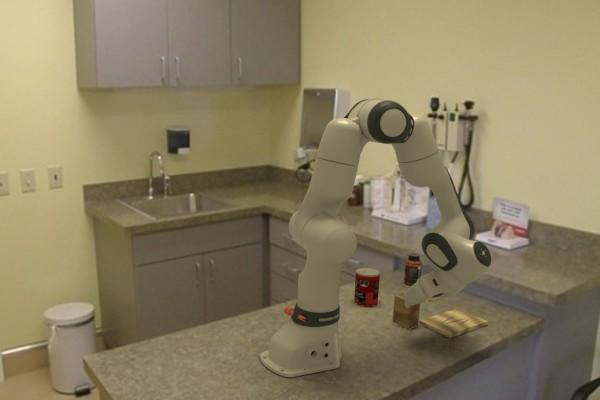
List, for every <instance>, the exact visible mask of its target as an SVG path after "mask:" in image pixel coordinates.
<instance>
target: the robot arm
mask: <svg viewBox="0 0 600 400" xmlns="http://www.w3.org/2000/svg"><path fill="white" fill-rule="evenodd" d="M369 142H371V143H375V144H376V143H378V144H384V145H391V146H392V148H393V150H394V153H395V156H396V161H397V164H398V168H399V171H400V173H401V175H402V177H403V179H404V181H405V182H407V183H408V184H409V185H411V186H414V187H416V188H429V190H431V192H432V193H433V196H434V198H435V199H434V200H435V201H436V204H437V207H438V209H439V212H440V218H439V220H438V222H437V223H436V224H435V225H434V227H432V228H431V229H430V230H428V232H427V233H426V234H425V235H424V236H423V237H422V240H421V249H422V252H423V254H424V256H425V257H426V258H427V259H428V260H429V261H430V262H431V263H432V264H434V265H435V266H436V267H435V268H434V269H433V270H432V271H429V272H427V273H425V274H423V275H421V277H420V278H419V279H418V280H419V281H418V282H417V283H415V284H414V285H413V286H411V285H410V287H409V288H407V290H406V291H405V292H403V293H404V294H403V298H404V300H405V306H406V308H409V307H412V306H413V305H415V304H419V303H420V304H423V303H425V302H433V301H434V300H437V299H439V298H452V297H455V295H457V294H458V293H459V292H460V291H462V290H464V289H465V288H466V286H468V284H470V283H473V282H475V281H476V280H478V279H479V278H480V277H481V276H482V275H484V274H485V272H487V271H488V269H489V268H490V267H491V263H492V255H491V252H490V250H489V248H488V247H487V245H486V244H485V243H483V242H482V241H479V240H473V238H474V236H475V226H474V224H473V223H474V222H473V221H472V219H471V218H470V217H469V215H468V214H467V213H466V210H464V208H463V205H462V202H461V199H460V196H459V194H458V191H457V189H456V186H455V183H454V181H453V178H452V176H451V174H450V172H449V170H448V169H447V167H446V166H445V165H444V162H443V159H442V156H441V153H440V150H439V145H438V144H437V140H436V138H435V135H434V132H433V130H432V128H431V125H430V124H429V121H428V120H427V118H426V117H424V116H423V115H422V114H418V113H409V112H408V110H407V109H406V108H405V107H404V106H403V105H401V104H400V103H398V102H396V101H393V100H389V99H388V100H386V99H383V98H367V99H362V100H360V101H358V102H357V103H355V104H354V105H353V106H352V107H351V109H350V110H349V111H348V112H347V113H346V115H345V116H343V117H338V118H334V119H332V120H330V121H329V122H328V123H326V126H325V129H324V130H323V133H322V136H321V139H320V141H319V144H318V148H317V152H316V155H315V156H316V157H315V161H314V164H313V170H312V174H311V178H310V182H309V185H308V189H307V191H306V194H305V196H304V198H303V201H302V202H301V204H300V207H299V208H298V209H297V210H296V211H295V212H294V213H293V214H292V215H291V217H290V219H289V222H288V231H289V234H290V235H291V237H292V238H293V240H294V242H295V243H296V244H297V245H298V246H300V247H302V249H304V250H305V251H306V261H305V265H304V267H303V270H301V272H299V274H298V276H297V295H296V296H297V297H296V298H297V299H296V303H295V305H294V308H292V307H290V306H285V307H284V309H283V313H285V314H286V315H287V316H289V317H290V318H289V320H287V322H285V323H284V324H283V325H282V326H281V327H280V328H279V329H278V330H277V331H276V332H275V333H273V335H272V336H271V337H270V341H269V346H268V349H266V350H265V351H262V352H260V354H259V361H260V362H261V364H262V365H264V367H266V368H267V369H268V370H270V371H271V372H273V373H275V374H276V375H279V376H281V377H285V378H296V377H300V376H305V375H311V374H314V373H315V374H316V373H318V372H319V373H320V372H324V371H329V370H334V369H338V368H340V366H341V359H342V357H343V353H342V349H341V344H340V336H339V335H340V334H339V321H340V318H341V317H340V315H341V305H340V304H339V302H340V289H341V287H340V286H341V279H342V275H343V271H344V268H345V265H346V263H347V262H349V260H351V259H352V257H353V256H354V255H355V253H356V250H357V246H358V241H357V237H356V235H355V232H353V230H352V229H351V228H350V226H348V224H347V223H346V222H343V221H342V220H341V219H338V214H339V213H340V209H341V208H342V206H343V204H344V203H345V202H346V201H348V199H350V198H351V196H352V194H353V191H354V187H355V182H356V178H357V175H358V173H357V172H358V169H359V166H360V165H359V164H360V160H361V154H362V152H363V150H364V148H365V147H366V145H367V144H368V143H369Z"/></svg>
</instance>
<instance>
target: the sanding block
mask: <svg viewBox="0 0 600 400" xmlns="http://www.w3.org/2000/svg"><path fill="white" fill-rule="evenodd" d="M404 293H405V292H403V293H399V294H396V295H394V299H393V312H392V313H393V315H392V323H393V322H394V323H396V324H398V325H399V326H398V325H397V326H398V327H400V326H401V328H402V327H403V329H404V328H406V329H408V330H410V329H409V328H411V329H413V328H412V327H414V328H416V327H415V326H417V327H419V320H420V311H421V309H420V308H421V303H419V304H415V305H413V306H412V307H409V308H406V306H405V300H404V298H403V294H404ZM394 323H393V324H394ZM396 324H395V325H396ZM406 329H405V330H406Z"/></svg>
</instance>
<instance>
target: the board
mask: <svg viewBox="0 0 600 400" xmlns="http://www.w3.org/2000/svg"><path fill="white" fill-rule="evenodd" d="M419 323H420V324H419ZM419 323H418V324H419V325H421V324H422V325H421V326H423V325H424V326H423V327H425V326H426V327H425V328H427V327H428V329H429V328H430V329H429V330H431V329H432V330H431V331H434V332H436V333H438V334H440V335H442V336H445V337H447V338H449V339H451V338H454V337H457V336H461V335H462V334H465V333H468V332H471V331H475V330H477V329H480V328H483V327H486V326H488V325H489V324H488V323H489V322H488V320H486V319H483V318H480V317H478V316H476V315H474V314H471V313H469V312H466V311H464V310H461V309H458V308H454V309H451V310H447V311H445V312H442V313H438V314H435V315H432V316H429V317H425V318H422V319H419Z"/></svg>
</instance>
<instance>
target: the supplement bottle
mask: <svg viewBox="0 0 600 400" xmlns="http://www.w3.org/2000/svg"><path fill="white" fill-rule="evenodd" d="M420 256H421V255H420V254H419V253H415V252H413V253H408V258H407V259H406V260H405V263H404V264H405V267H404V277H403V278H404V279H403V280H404V281H403V282H404V284H405V285H408V286H410V287H411V286H413V285H414V284H415V283H417V282H418V281H419V280H418V279H419V278H420V277H421V276H422V267H423V266H422V263H423V261H422V260H421V259H420V258H421V257H420Z"/></svg>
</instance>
